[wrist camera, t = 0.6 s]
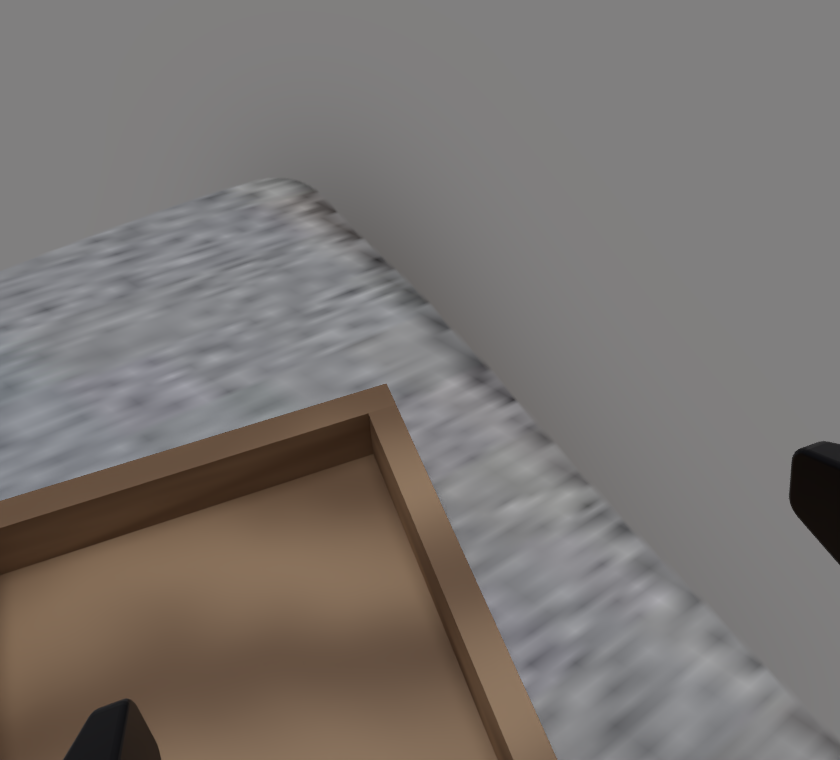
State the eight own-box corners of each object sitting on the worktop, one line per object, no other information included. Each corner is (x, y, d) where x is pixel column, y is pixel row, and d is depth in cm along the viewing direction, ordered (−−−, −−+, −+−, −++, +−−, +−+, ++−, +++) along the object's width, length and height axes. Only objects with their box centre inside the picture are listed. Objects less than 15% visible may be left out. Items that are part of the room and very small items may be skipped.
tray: (580, 877, 19) (604, 862, 16) (-27, 1174, 16) (-124, 1217, 13) (391, 440, 28) (386, 383, 25) (-20, 572, 25) (-76, 524, 22)
